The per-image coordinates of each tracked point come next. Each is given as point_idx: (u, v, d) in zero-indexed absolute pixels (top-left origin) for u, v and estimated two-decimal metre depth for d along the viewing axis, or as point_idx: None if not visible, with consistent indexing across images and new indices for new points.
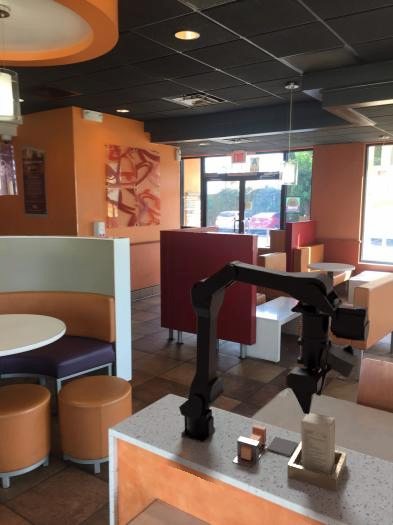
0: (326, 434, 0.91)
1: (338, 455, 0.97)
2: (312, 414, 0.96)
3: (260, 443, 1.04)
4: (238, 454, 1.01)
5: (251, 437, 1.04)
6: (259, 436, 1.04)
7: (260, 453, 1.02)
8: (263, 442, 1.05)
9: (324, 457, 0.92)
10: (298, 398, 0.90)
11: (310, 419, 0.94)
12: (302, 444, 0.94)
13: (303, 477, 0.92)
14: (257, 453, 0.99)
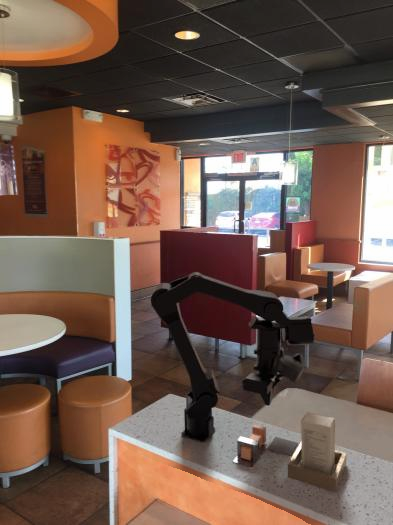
0: (326, 434, 0.91)
1: (338, 455, 0.97)
2: (312, 414, 0.96)
3: (260, 443, 1.04)
4: (238, 454, 1.01)
5: (251, 437, 1.04)
6: (259, 436, 1.04)
7: (260, 453, 1.02)
8: (263, 442, 1.05)
9: (324, 457, 0.92)
10: None
11: (310, 419, 0.94)
12: (302, 444, 0.94)
13: (303, 477, 0.92)
14: (257, 453, 0.99)
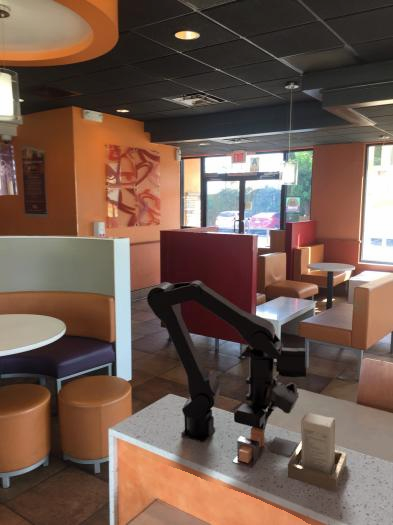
0: (326, 434, 0.91)
1: (338, 455, 0.97)
2: (312, 414, 0.96)
3: None
4: (238, 454, 1.01)
5: None
6: (257, 438, 1.03)
7: (260, 453, 1.02)
8: (261, 444, 1.04)
9: (324, 457, 0.92)
10: None
11: (310, 419, 0.94)
12: (302, 444, 0.94)
13: (303, 477, 0.92)
14: (257, 453, 0.99)
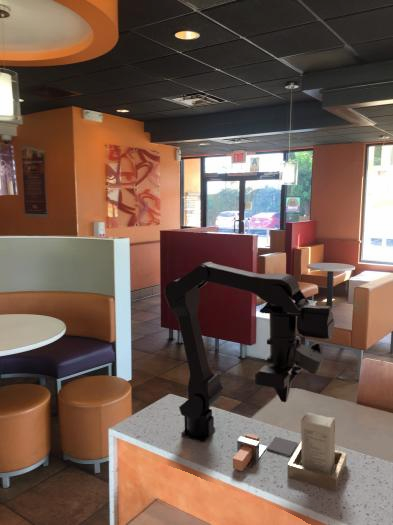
0: (326, 434, 0.91)
1: (338, 455, 0.97)
2: (312, 414, 0.96)
3: None
4: None
5: (243, 446, 1.00)
6: None
7: (260, 453, 1.02)
8: None
9: (324, 457, 0.92)
10: (275, 387, 0.97)
11: (310, 419, 0.94)
12: (302, 444, 0.94)
13: (303, 477, 0.92)
14: (257, 453, 0.99)
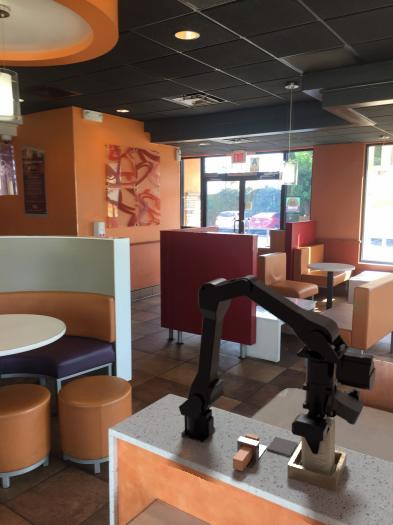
0: None
1: (338, 455, 0.97)
2: None
3: None
4: None
5: (243, 446, 1.00)
6: None
7: (260, 453, 1.02)
8: None
9: (324, 457, 0.92)
10: (307, 439, 0.92)
11: None
12: (302, 444, 0.94)
13: (303, 477, 0.92)
14: (257, 453, 0.99)
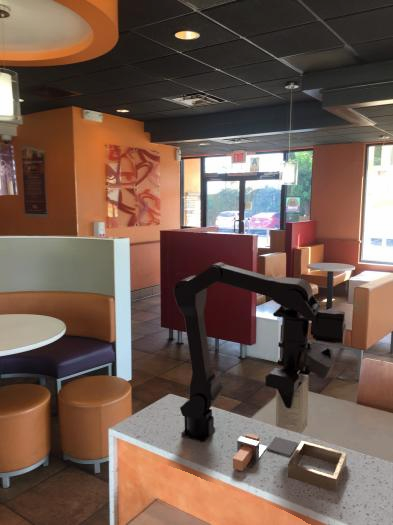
0: (299, 389, 0.96)
1: (338, 455, 0.97)
2: None
3: None
4: None
5: (243, 446, 1.00)
6: None
7: (260, 453, 1.02)
8: None
9: (297, 411, 0.97)
10: (280, 393, 0.97)
11: None
12: (277, 399, 0.99)
13: (303, 477, 0.92)
14: (257, 453, 0.99)
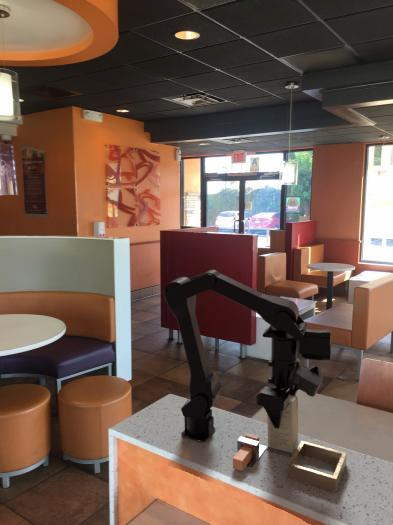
0: (288, 410, 1.00)
1: (338, 455, 0.97)
2: None
3: None
4: None
5: (243, 446, 1.00)
6: None
7: (260, 453, 1.02)
8: None
9: (287, 432, 1.01)
10: (269, 414, 0.99)
11: None
12: (268, 420, 1.03)
13: (303, 477, 0.92)
14: (257, 453, 0.99)
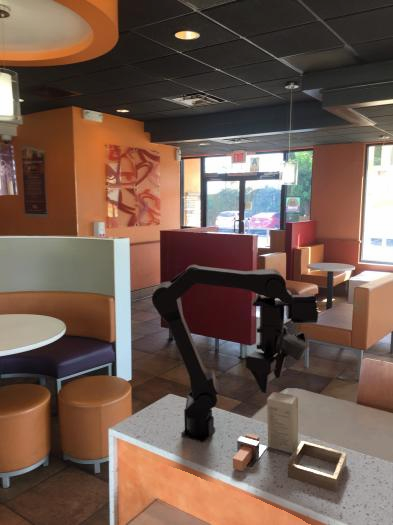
0: (288, 410, 1.00)
1: (338, 455, 0.97)
2: (277, 393, 1.04)
3: None
4: None
5: (243, 446, 1.00)
6: None
7: (260, 453, 1.02)
8: None
9: (287, 432, 1.01)
10: (256, 379, 1.03)
11: (275, 397, 1.02)
12: (268, 420, 1.03)
13: (303, 477, 0.92)
14: (257, 453, 0.99)
